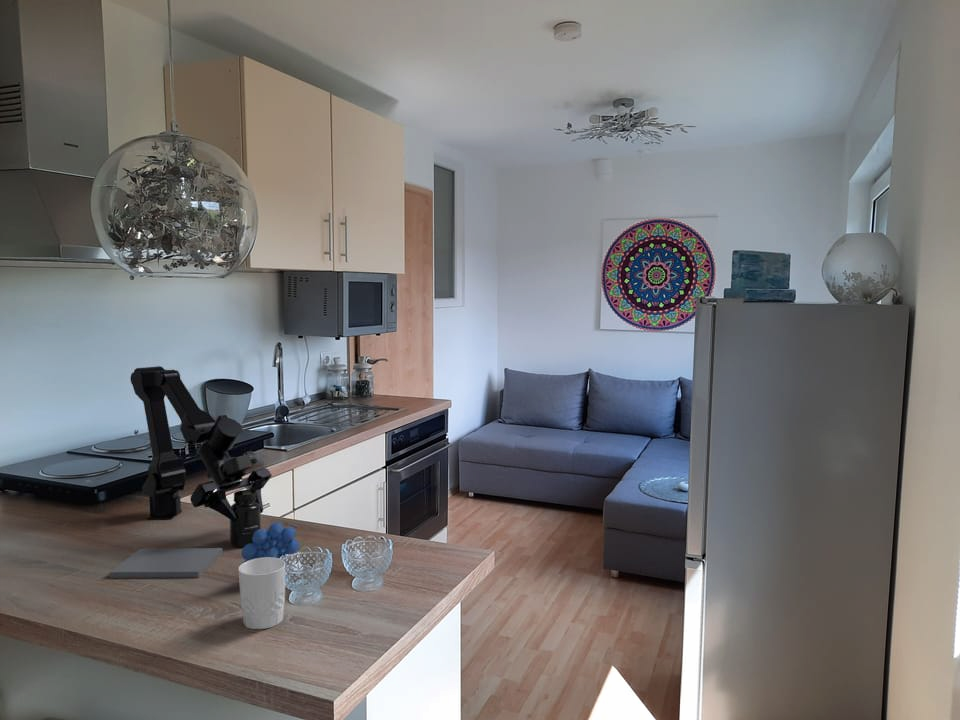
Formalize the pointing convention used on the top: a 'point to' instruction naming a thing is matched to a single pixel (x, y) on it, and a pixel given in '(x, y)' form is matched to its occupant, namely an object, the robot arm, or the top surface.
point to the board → (167, 563)
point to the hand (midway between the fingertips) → (248, 516)
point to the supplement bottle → (244, 518)
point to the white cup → (262, 592)
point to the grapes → (271, 543)
